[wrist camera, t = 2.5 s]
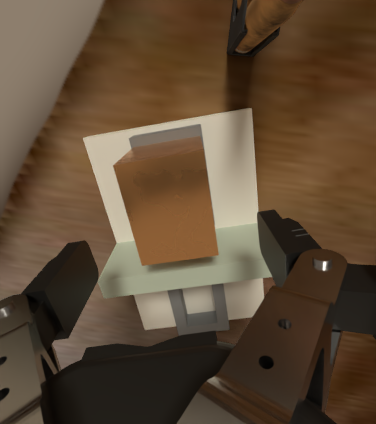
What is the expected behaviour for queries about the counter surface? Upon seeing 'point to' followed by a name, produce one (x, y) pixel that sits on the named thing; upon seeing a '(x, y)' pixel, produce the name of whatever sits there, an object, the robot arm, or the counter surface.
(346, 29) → the counter surface
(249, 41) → the ammunition clip
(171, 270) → the plate
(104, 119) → the counter surface
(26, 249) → the counter surface
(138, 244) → the orange brown block
